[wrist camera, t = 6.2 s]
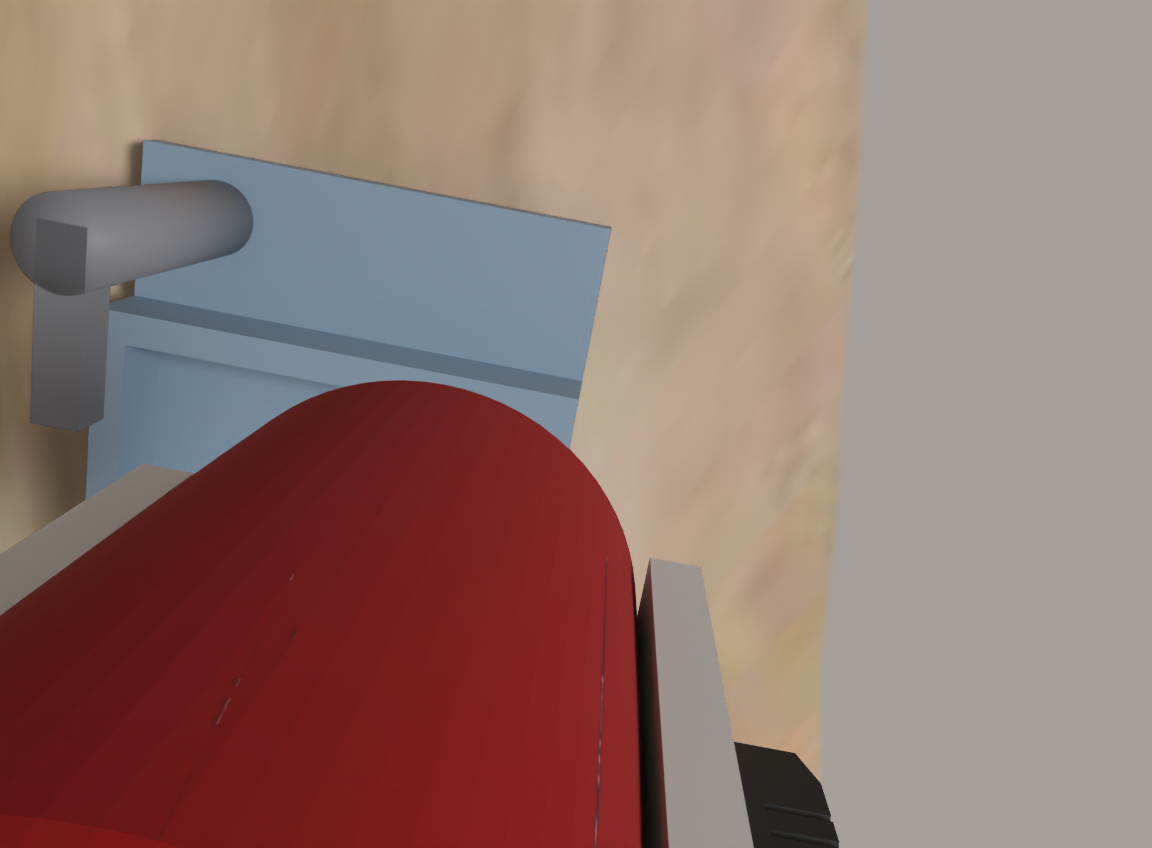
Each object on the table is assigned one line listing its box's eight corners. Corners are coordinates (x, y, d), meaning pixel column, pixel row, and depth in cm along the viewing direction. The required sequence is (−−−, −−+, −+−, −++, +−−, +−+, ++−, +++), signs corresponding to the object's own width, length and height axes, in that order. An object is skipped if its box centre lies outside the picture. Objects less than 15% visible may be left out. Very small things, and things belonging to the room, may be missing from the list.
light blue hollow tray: (157, 139, 32) (-45, 135, 22) (611, 226, 32) (605, 260, 22) (126, 631, 37) (-50, 802, 27) (519, 705, 37) (483, 902, 27)
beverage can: (359, 821, 17) (-227, 2305, 5) (128, 492, 15) (-1384, 1519, 4) (713, 654, 16) (967, 2074, 4) (498, 282, 14) (-51, 835, 3)
